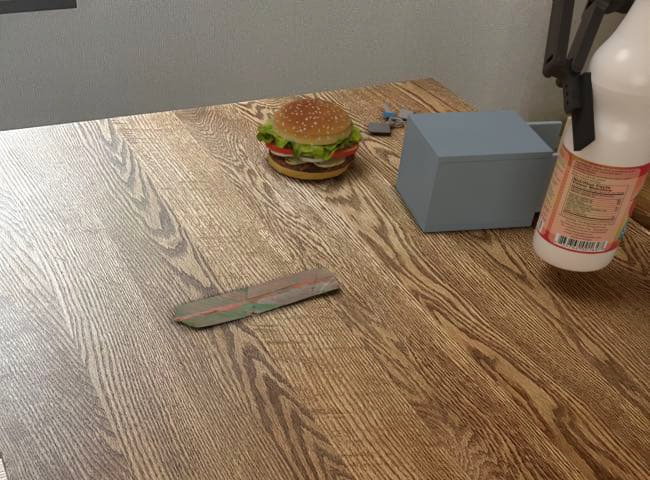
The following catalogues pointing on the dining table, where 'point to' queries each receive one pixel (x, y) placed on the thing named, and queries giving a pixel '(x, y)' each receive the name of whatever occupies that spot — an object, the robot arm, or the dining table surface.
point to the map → (256, 298)
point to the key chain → (386, 125)
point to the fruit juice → (602, 156)
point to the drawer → (550, 136)
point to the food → (310, 139)
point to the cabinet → (471, 170)
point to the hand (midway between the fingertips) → (629, 143)
